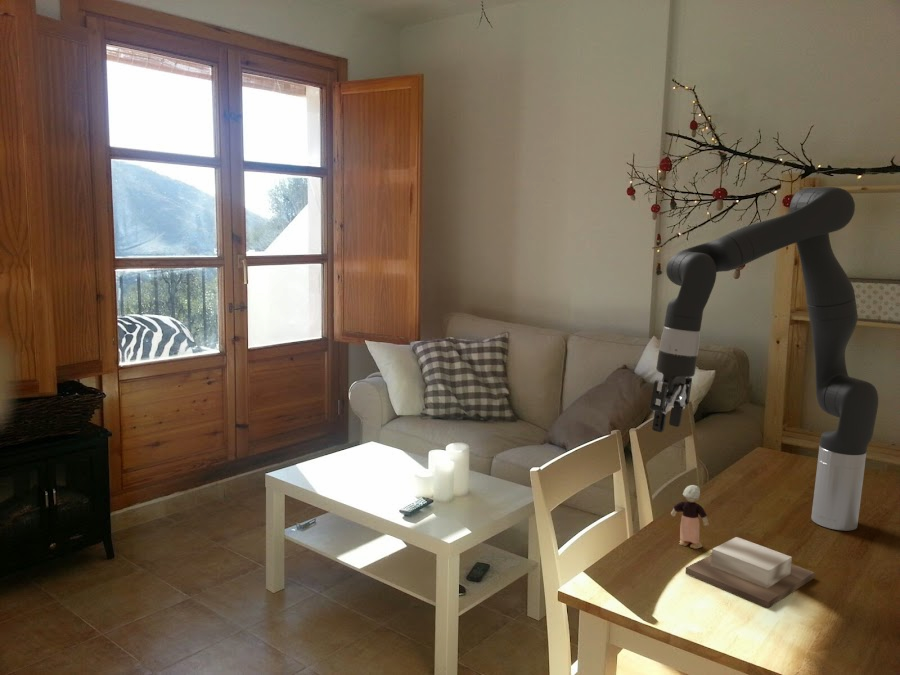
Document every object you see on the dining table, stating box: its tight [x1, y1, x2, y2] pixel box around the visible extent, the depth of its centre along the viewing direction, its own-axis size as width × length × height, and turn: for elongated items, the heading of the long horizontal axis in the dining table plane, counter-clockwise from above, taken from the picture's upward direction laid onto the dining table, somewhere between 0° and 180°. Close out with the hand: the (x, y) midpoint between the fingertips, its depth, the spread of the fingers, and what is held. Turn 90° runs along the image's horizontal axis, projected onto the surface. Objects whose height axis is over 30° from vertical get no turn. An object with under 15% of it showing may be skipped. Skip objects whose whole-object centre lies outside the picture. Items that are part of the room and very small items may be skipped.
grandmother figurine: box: [670, 484, 710, 550], centre depth 151 cm, size 8×4×13 cm, turn 65°
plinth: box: [684, 536, 815, 609], centre depth 139 cm, size 18×16×5 cm
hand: (666, 428), depth 152 cm, fingers open, 8 cm apart
